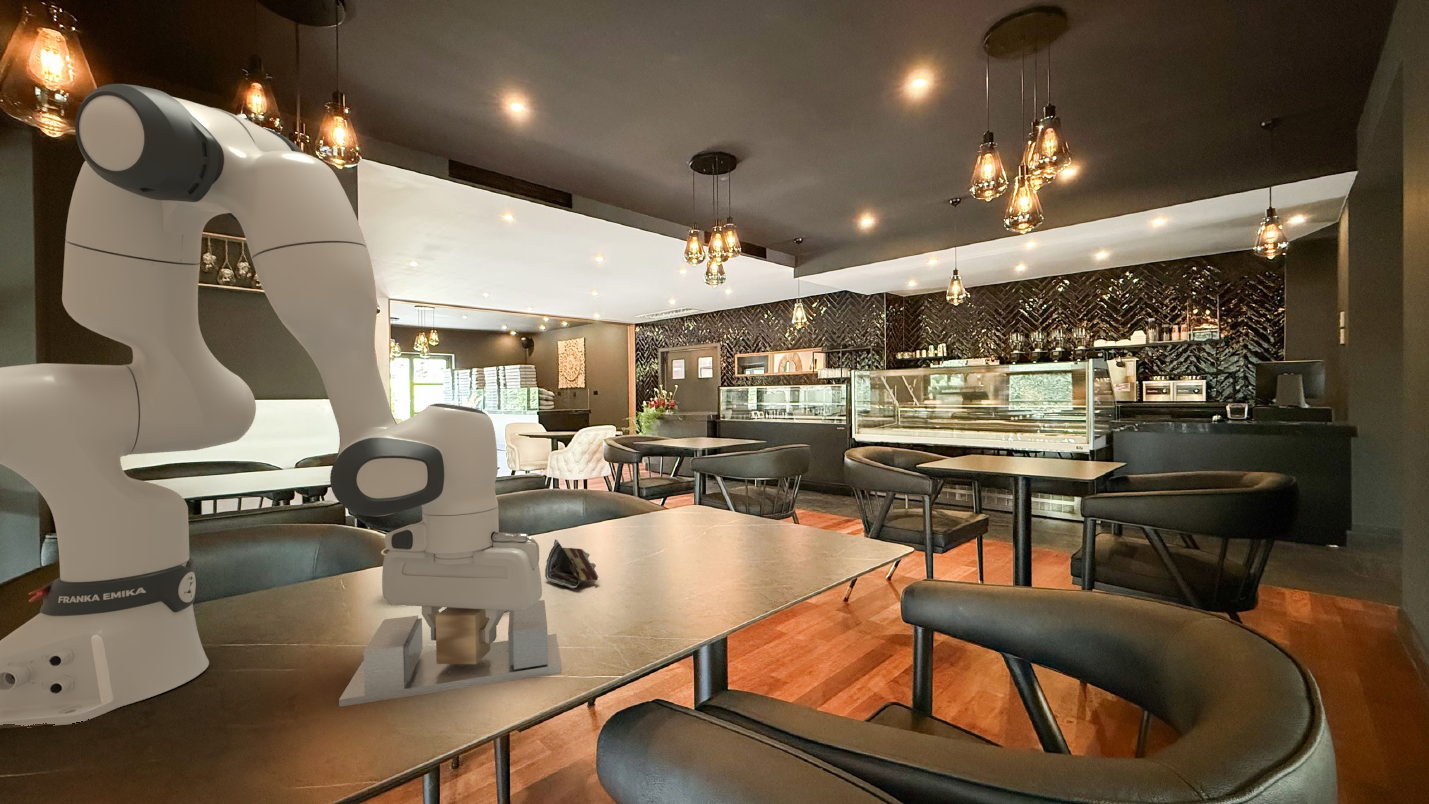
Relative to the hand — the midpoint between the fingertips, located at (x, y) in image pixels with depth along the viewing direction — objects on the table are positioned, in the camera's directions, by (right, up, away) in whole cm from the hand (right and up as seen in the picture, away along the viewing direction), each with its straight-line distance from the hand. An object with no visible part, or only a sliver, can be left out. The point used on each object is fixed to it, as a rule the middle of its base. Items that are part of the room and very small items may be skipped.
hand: (463, 640), depth 73 cm
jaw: (+7, -2, +3) cm, 8 cm away
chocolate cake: (+8, -6, +32) cm, 34 cm away
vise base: (0, -4, 0) cm, 4 cm away
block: (0, -2, 0) cm, 2 cm away
